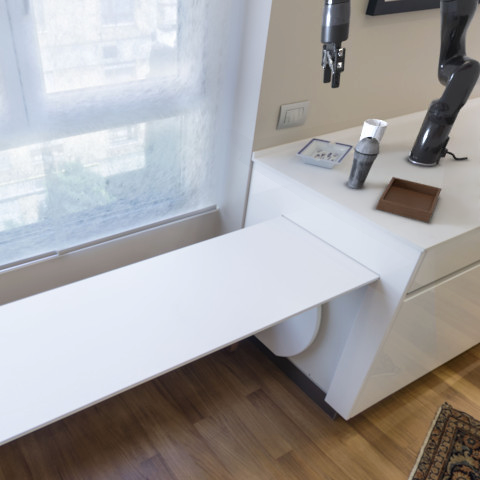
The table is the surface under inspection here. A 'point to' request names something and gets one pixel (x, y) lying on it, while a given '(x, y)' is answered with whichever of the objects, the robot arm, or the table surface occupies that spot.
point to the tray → (409, 199)
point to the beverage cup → (363, 160)
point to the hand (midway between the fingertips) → (330, 85)
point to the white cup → (373, 129)
